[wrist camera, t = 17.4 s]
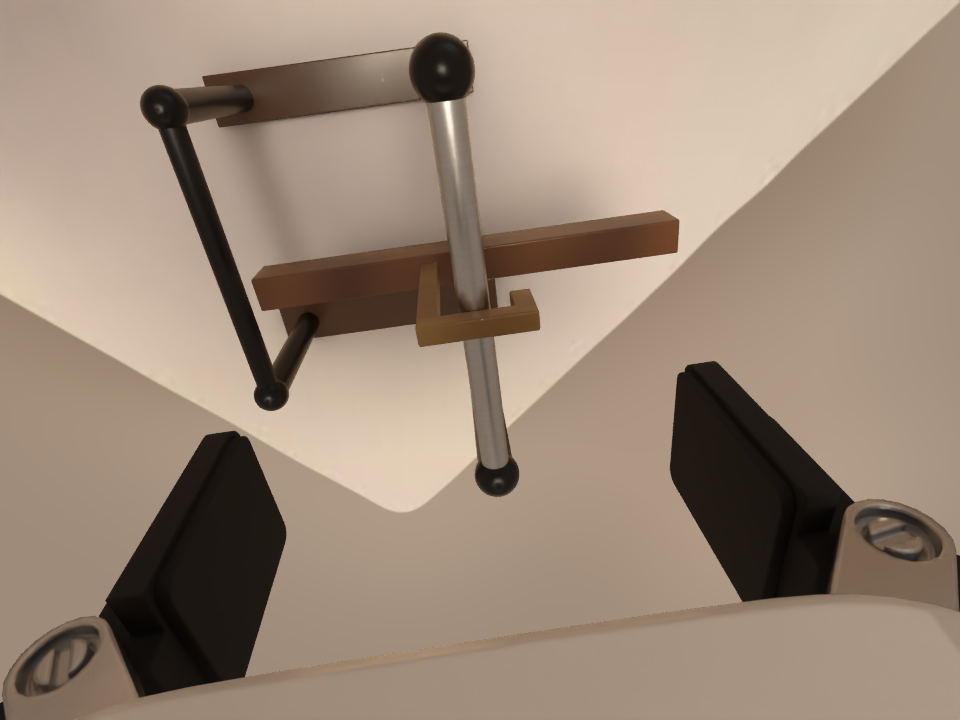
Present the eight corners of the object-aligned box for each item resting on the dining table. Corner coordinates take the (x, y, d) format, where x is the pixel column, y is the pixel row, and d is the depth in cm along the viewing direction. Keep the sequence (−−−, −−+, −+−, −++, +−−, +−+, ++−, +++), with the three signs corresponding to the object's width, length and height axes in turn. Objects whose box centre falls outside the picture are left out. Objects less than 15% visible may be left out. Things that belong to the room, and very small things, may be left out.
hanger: (272, 296, 27) (206, 388, 19) (262, 266, 26) (189, 349, 18) (662, 241, 27) (754, 310, 19) (663, 209, 26) (760, 268, 18)
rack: (293, 335, 44) (169, 561, 24) (208, 76, 34) (-113, 84, 14) (496, 306, 44) (546, 508, 24) (466, 40, 35) (506, -2, 14)
